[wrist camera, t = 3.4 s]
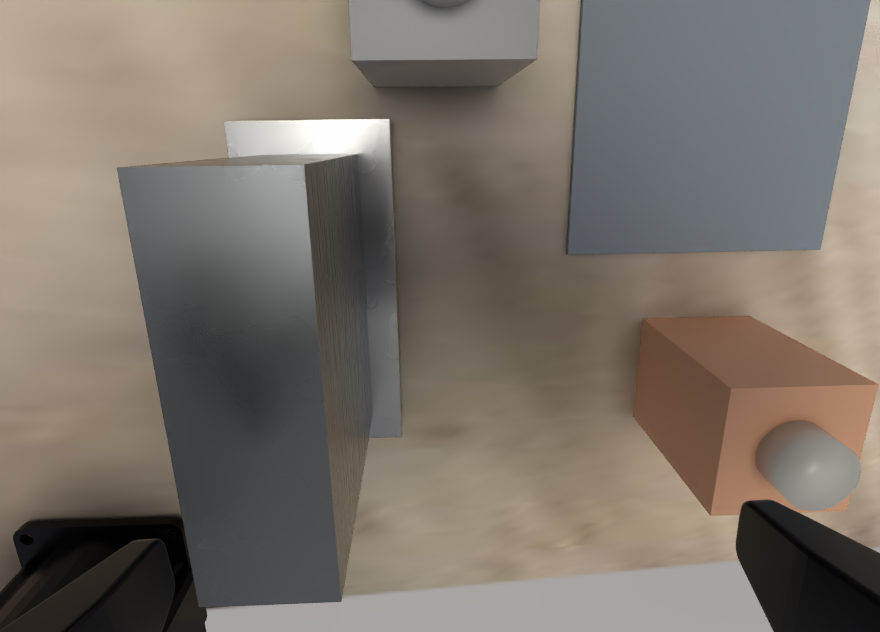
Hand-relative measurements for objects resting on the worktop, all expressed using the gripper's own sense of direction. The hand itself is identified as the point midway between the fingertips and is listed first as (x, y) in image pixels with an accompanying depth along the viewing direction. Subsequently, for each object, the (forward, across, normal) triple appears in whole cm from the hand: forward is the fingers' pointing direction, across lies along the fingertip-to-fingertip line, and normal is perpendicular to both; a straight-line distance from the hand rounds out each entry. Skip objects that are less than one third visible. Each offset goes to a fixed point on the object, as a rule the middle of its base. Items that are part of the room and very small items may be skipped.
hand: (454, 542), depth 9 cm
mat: (+12, -9, -6) cm, 16 cm away
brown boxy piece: (+12, -9, +3) cm, 16 cm away
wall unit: (+12, +4, -1) cm, 12 cm away
